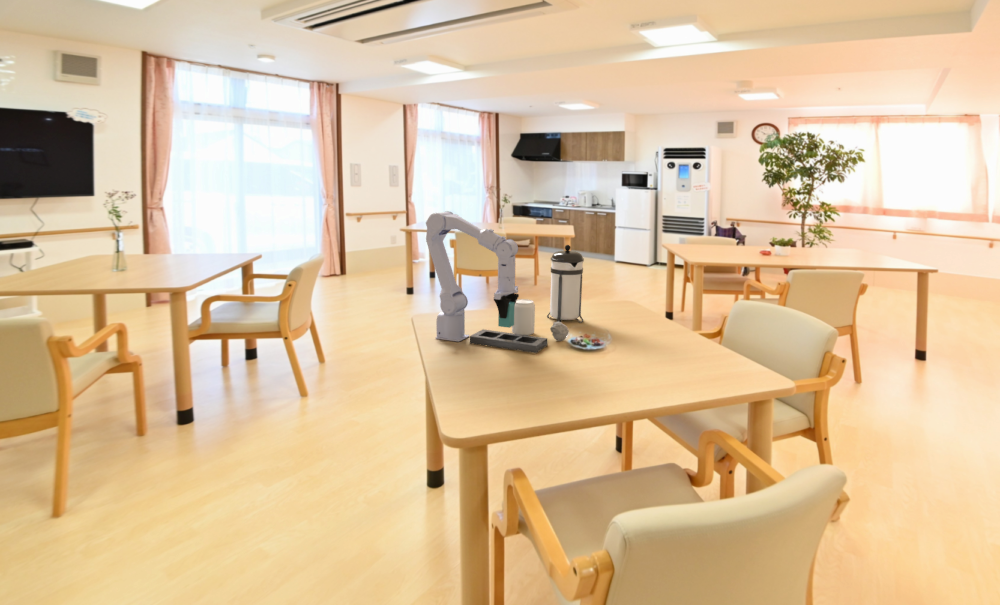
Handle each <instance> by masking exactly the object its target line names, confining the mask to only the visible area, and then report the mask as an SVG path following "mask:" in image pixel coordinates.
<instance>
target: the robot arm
mask: <svg viewBox="0 0 1000 605" xmlns="http://www.w3.org/2000/svg"><path fill="white" fill-rule="evenodd" d="M425 225H426V237H425V242H426V244H427V247H428V251H429V254H430V257H431V261H432V264H433V266H434V269H435V273H436V276H437V279H438V282H439V285H440V288H441V290H440V294H439V299H440V304H439V306H440V310H441V311H440V312H439V313H438V315H437V317H436V336H435V339H437V340H445V341H451V342H456V343H459V342H461V341H463V340H465V339H467V338H468V337H469V338H470V335H469V334H466V333H465V331H466V329H465V319H466V318H465V316H466V315H465V309H466V308H467V306H468V304H469V301H468V300H469V299H468V297H467V295H466V294H465V293H464V292H463V289H462V287H461V286H459V285H458V283H457V281H456V278H455V275H454V272H453V269H452V266H451V262H450V259H449V256H448V253H447V250H446V247H445V244H444V240H445V238H446V236H447V235H448V234H449V232H450V231H452V230H458V231H459V232H462V233H463V234H467V235H469V236H471V237H473V238H475V239H476V240H477V243H478V245H480V246H482V247H484V248H485V249H487V250H489V251H491V252H493V253H495V255H496V257H497V258H498V259H497V260H498V261H497V289H496V291H495V292H494V294H493V301H494V303H495V305H496V307H497V311H498V317H499V316H500V318H506V317H507V312H508V306H509V303H510V301H511V302H515V303H516V300H518V299H519V296H520V294H519V286H518V285H516V255H517V253H518V252H519V247H518V243H517V242H516V241H515V240H513V238H509V239H507V238H506V236H505V235H504V236H503V235H502V236H501V235H499V234H497V233H496V232H494V229H492V228H489V229H488V228H485V229H481V228H479V227H478V226H475V225H474V224H473V223H471V222H469V221H468V220H466V219H464V218H462V217H461V216H459V215H458V214H456V213H453V212H451V211H448V210H446V211H443V212H433V213H432V214H430V215H429V216H428V218H427V220H426V222H425ZM514 306H515V305H514Z"/></svg>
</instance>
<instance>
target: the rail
mask: <svg viewBox="0 0 1000 605" xmlns="http://www.w3.org/2000/svg"><path fill="white" fill-rule="evenodd" d="M472 343H474V344H473V345H478V344H481V345H480V346H485V345H487V346H486V347H491V346H492V348H499V349H507V350H512V351H520V352H524V353H531V354H537V353H539V352H540V351H542V350H543V349H544V348H545V347H547V346H548V338H547V337H543V336H542V337H541V336H540V337H539V336H532V335H520V334H514V333H513V332H506V331H498V330H493V329H492V330H490V329H484V328H483V329H481V330H479V331H476V333H473V334H471V335H469V344H472Z"/></svg>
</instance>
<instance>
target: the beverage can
mask: <svg viewBox="0 0 1000 605" xmlns="http://www.w3.org/2000/svg"><path fill="white" fill-rule="evenodd" d="M534 302H535V301H534V300H532V299H528V298H520V299H519V298H518V299H517V300H516V303H515V306H514V325H513V326H511V333H513V334H520V335H527V336H532V335H533V334H534V333H535V319H536V318H535V316H536V315H535V314H536V304H535V303H534Z"/></svg>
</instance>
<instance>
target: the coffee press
mask: <svg viewBox="0 0 1000 605" xmlns="http://www.w3.org/2000/svg"><path fill="white" fill-rule="evenodd" d="M564 249H565V250H558V251H556V252H554V253H553V254H552V255H551V257H550V261H551V267H550V302H549V303H550V304H549V313H548V314H547V316H546V317H547V319H549V317H550V316H551V317H550V319H551V318H553V319H556V321H555V322H561V323H562V321H563V320H564V321H572V320H576V321H577V322H578V323H579V324H582V323H583V322H584V319H583V317H582V295H583V294H582V292H583V273H584V267H583V264H584V261H585V258H584V256H583V254H582V253H580V252H578V251H574V250H571V245H570V244H566V245H565V246H564ZM579 318H580V319H579Z"/></svg>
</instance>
